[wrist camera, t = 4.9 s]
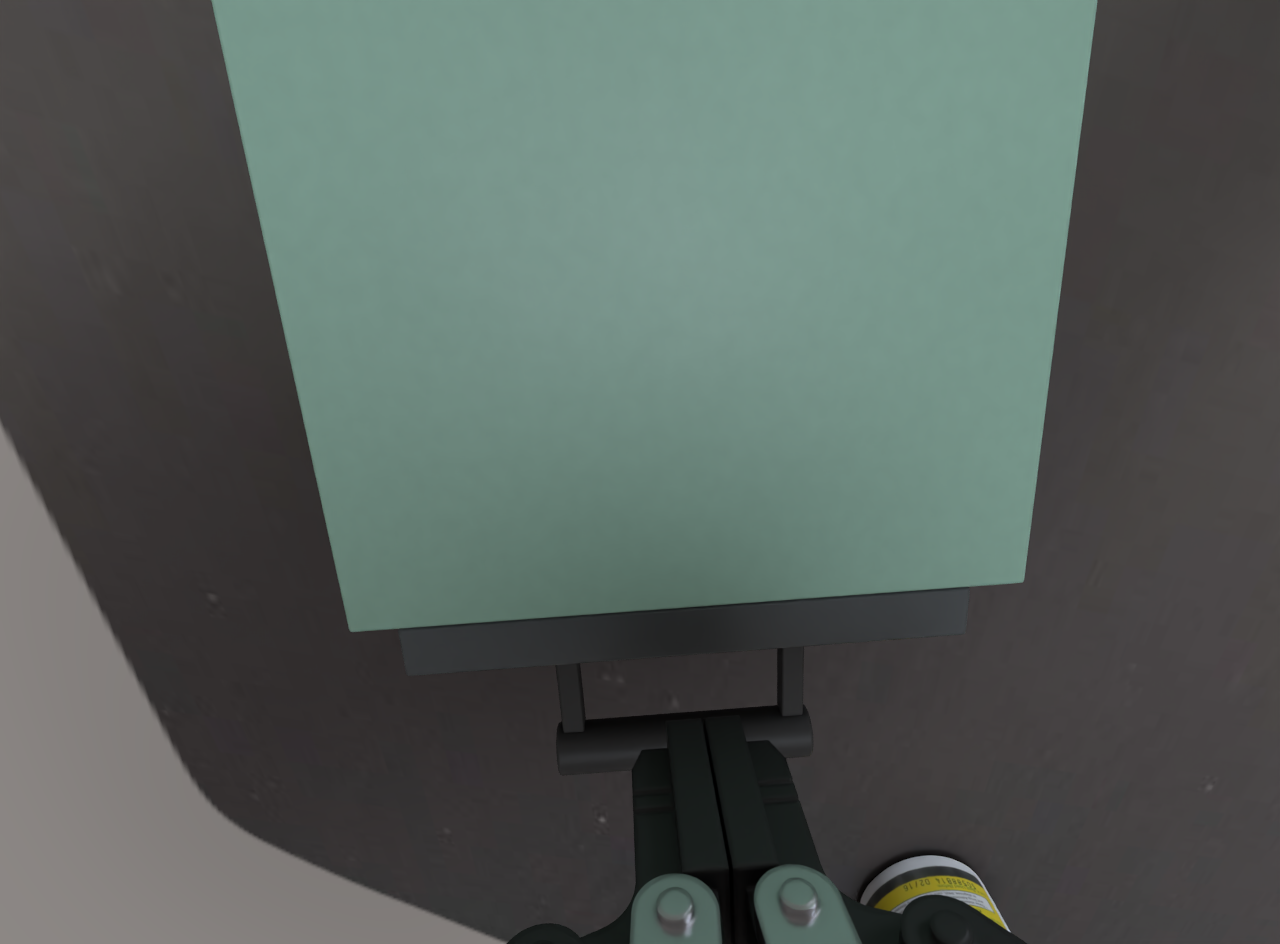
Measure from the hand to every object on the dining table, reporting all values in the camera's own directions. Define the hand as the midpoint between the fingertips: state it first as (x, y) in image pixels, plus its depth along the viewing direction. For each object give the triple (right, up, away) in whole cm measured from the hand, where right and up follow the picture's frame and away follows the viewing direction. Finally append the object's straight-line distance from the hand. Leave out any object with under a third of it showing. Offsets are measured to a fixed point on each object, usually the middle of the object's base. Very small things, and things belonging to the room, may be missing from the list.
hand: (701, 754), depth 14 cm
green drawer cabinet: (-1, +13, +7) cm, 15 cm away
